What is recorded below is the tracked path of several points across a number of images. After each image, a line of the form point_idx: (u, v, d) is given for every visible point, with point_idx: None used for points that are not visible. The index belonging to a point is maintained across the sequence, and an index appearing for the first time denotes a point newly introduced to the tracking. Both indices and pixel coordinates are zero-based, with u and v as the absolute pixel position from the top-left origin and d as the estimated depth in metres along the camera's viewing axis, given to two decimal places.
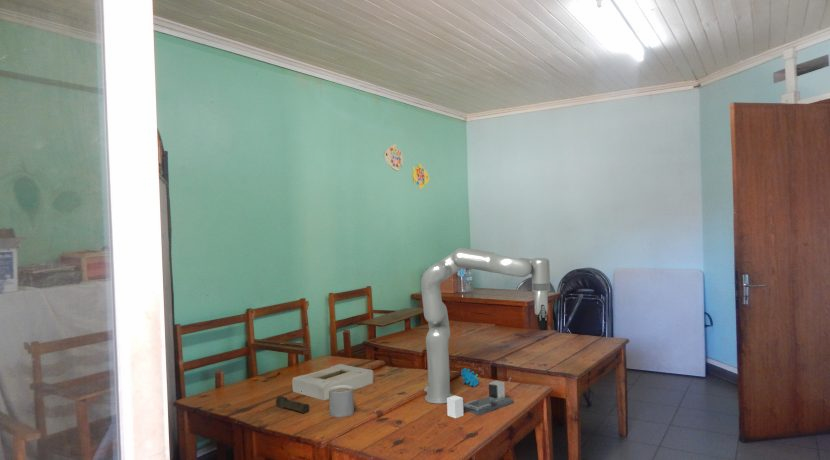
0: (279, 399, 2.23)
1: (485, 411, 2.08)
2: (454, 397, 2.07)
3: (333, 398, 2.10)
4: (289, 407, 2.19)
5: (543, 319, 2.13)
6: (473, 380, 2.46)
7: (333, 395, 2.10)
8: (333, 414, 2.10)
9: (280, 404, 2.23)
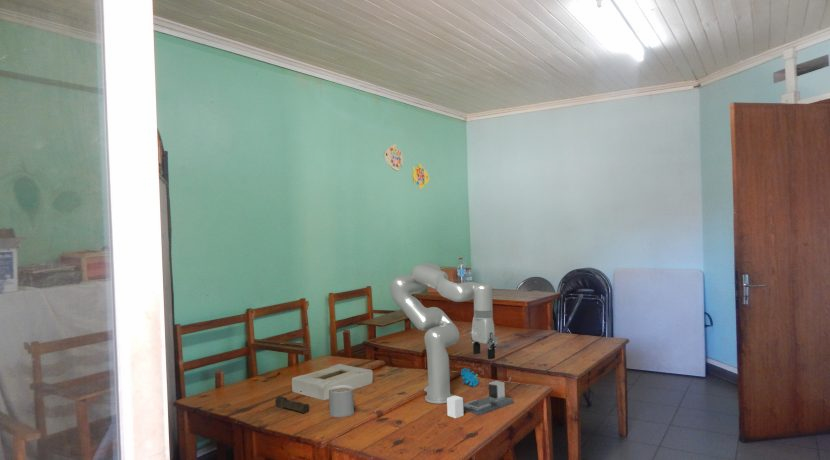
0: (279, 399, 2.23)
1: (485, 411, 2.08)
2: (454, 397, 2.07)
3: (333, 398, 2.10)
4: (289, 407, 2.19)
5: (493, 347, 2.06)
6: (473, 380, 2.46)
7: (333, 395, 2.10)
8: (333, 414, 2.10)
9: (280, 404, 2.22)
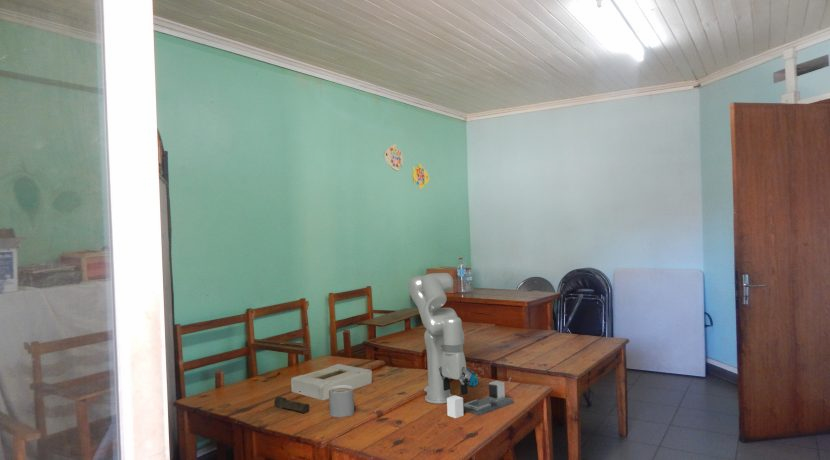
0: (278, 399, 2.23)
1: (485, 411, 2.08)
2: (454, 397, 2.07)
3: (333, 398, 2.10)
4: (289, 407, 2.19)
5: (466, 382, 2.01)
6: (472, 380, 2.46)
7: (333, 395, 2.10)
8: (333, 414, 2.10)
9: (279, 404, 2.22)
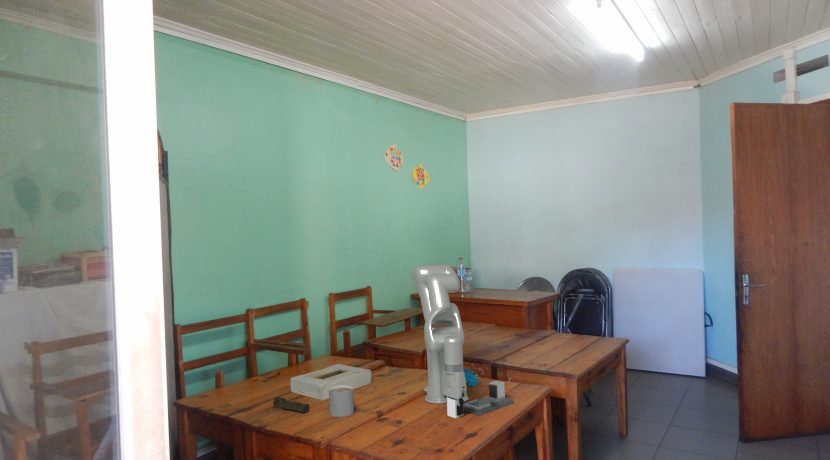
0: (277, 400, 2.22)
1: (485, 411, 2.08)
2: None
3: (333, 398, 2.10)
4: (288, 408, 2.19)
5: (462, 404, 2.04)
6: (472, 380, 2.46)
7: (333, 395, 2.10)
8: (333, 414, 2.10)
9: (279, 405, 2.22)
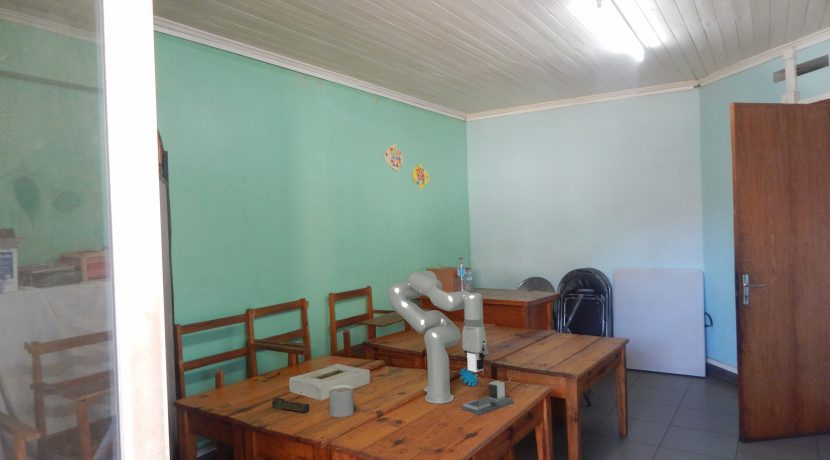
0: (276, 400, 2.22)
1: (485, 411, 2.08)
2: None
3: (333, 398, 2.10)
4: (288, 408, 2.18)
5: (482, 358, 2.09)
6: (472, 380, 2.46)
7: (333, 395, 2.10)
8: (333, 414, 2.10)
9: (278, 405, 2.21)
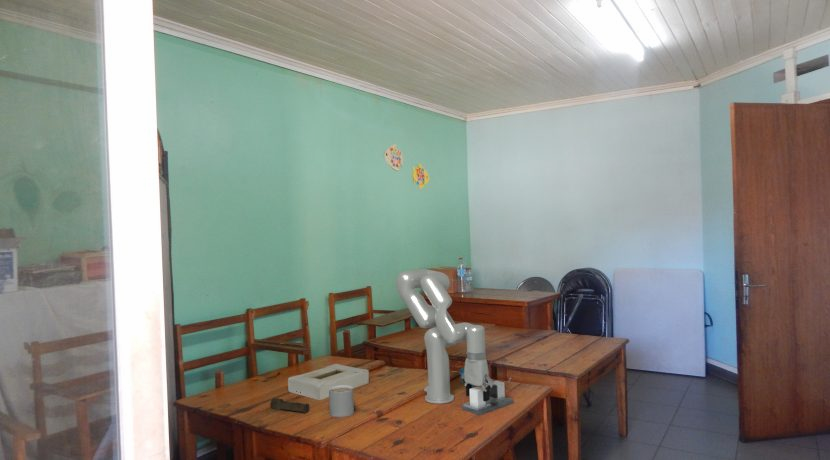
0: (275, 401, 2.21)
1: (485, 411, 2.08)
2: (476, 388, 2.13)
3: (333, 398, 2.10)
4: (287, 408, 2.18)
5: (489, 389, 2.08)
6: None
7: (333, 395, 2.10)
8: (333, 414, 2.10)
9: (277, 406, 2.20)
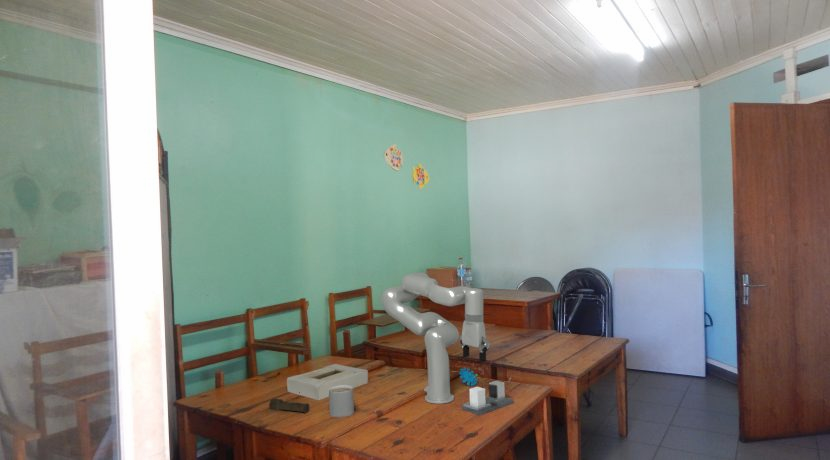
0: (274, 401, 2.20)
1: (485, 411, 2.08)
2: (476, 388, 2.13)
3: (333, 398, 2.10)
4: (287, 408, 2.18)
5: (485, 351, 2.11)
6: (471, 380, 2.47)
7: (333, 395, 2.10)
8: (333, 414, 2.10)
9: (276, 406, 2.20)
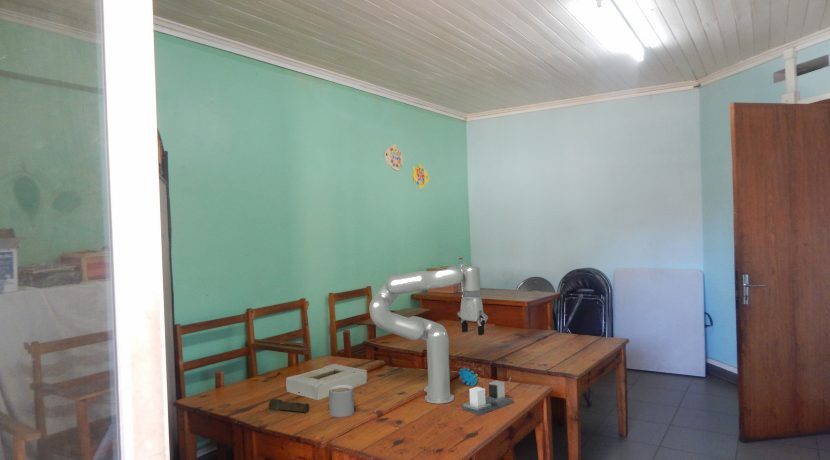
0: (274, 402, 2.20)
1: (485, 411, 2.08)
2: (476, 388, 2.13)
3: (333, 398, 2.10)
4: (287, 408, 2.18)
5: (483, 324, 2.23)
6: (471, 380, 2.47)
7: (333, 395, 2.10)
8: (333, 414, 2.10)
9: (276, 406, 2.20)
